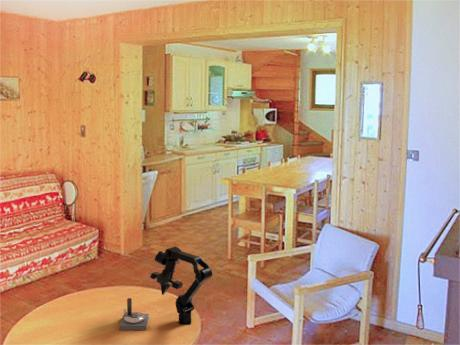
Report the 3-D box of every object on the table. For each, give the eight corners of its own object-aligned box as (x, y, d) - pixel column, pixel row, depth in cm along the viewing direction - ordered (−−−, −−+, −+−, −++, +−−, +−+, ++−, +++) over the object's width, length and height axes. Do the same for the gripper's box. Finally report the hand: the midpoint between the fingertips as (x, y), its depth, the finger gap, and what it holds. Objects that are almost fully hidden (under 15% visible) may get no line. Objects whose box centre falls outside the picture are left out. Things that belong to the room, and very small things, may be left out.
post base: (148, 317, 283) (148, 307, 282) (145, 329, 269) (145, 318, 268) (123, 317, 282) (123, 307, 281) (119, 329, 268) (119, 318, 267)
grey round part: (133, 311, 284) (133, 294, 282) (148, 318, 276) (148, 301, 274) (117, 318, 276) (117, 300, 274) (132, 325, 268) (132, 307, 266)
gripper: (148, 264, 278) (141, 291, 279) (176, 276, 271) (169, 303, 272) (158, 262, 288) (152, 287, 290) (186, 273, 281) (179, 299, 282)
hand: (162, 294), depth 283 cm, fingers closed
